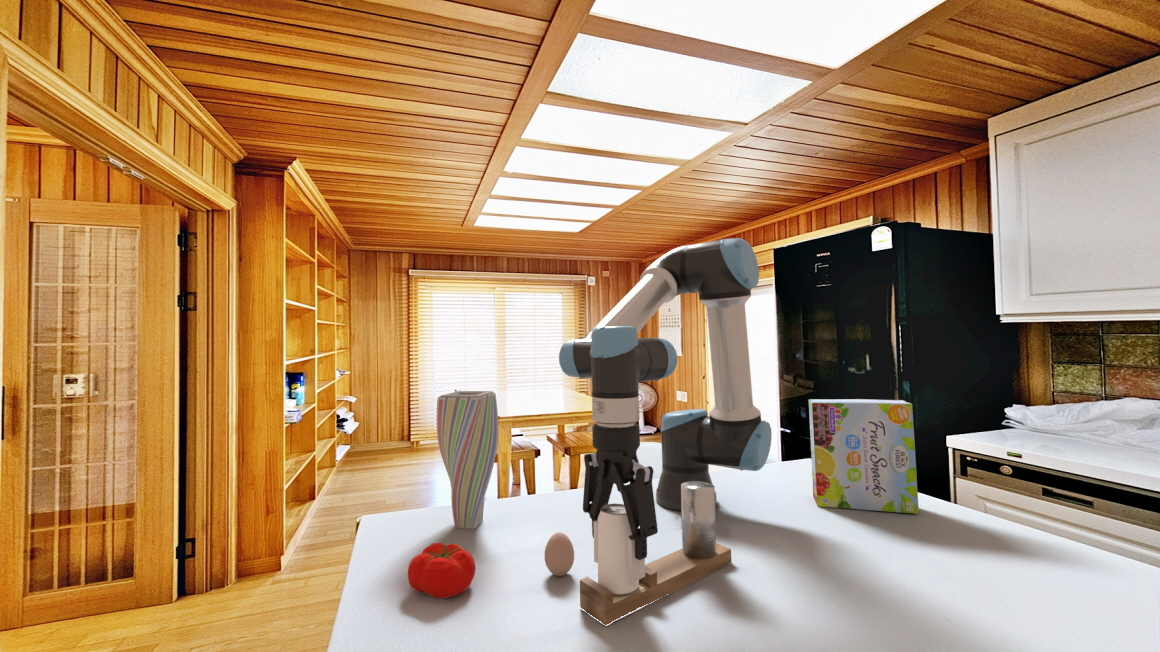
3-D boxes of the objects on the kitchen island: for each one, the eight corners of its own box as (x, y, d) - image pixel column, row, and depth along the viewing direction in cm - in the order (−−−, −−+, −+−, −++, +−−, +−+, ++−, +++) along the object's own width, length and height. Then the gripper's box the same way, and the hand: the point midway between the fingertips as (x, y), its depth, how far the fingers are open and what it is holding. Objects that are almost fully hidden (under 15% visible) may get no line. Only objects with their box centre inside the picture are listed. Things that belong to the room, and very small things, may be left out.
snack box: (908, 503, 118) (904, 399, 118) (920, 516, 109) (916, 403, 110) (811, 496, 125) (807, 397, 125) (815, 507, 116) (812, 401, 117)
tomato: (442, 612, 74) (442, 569, 74) (397, 593, 80) (397, 554, 80) (486, 584, 82) (486, 546, 82) (442, 569, 88) (442, 533, 88)
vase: (506, 514, 115) (504, 389, 116) (485, 537, 102) (484, 396, 103) (454, 511, 118) (452, 389, 119) (427, 533, 104) (426, 396, 105)
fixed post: (675, 551, 88) (674, 485, 88) (696, 542, 92) (694, 479, 92) (702, 562, 83) (700, 493, 84) (723, 552, 87) (721, 486, 87)
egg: (576, 580, 83) (575, 537, 83) (546, 583, 82) (545, 540, 82) (572, 566, 88) (571, 526, 88) (543, 569, 87) (542, 528, 87)
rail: (580, 609, 74) (579, 579, 74) (704, 551, 93) (704, 528, 93) (605, 627, 69) (605, 595, 69) (731, 562, 88) (730, 538, 89)
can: (637, 598, 71) (636, 515, 72) (594, 594, 73) (594, 513, 74) (640, 579, 78) (639, 503, 79) (601, 575, 79) (600, 501, 80)
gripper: (559, 418, 82) (561, 553, 81) (645, 435, 66) (649, 604, 65) (593, 413, 86) (595, 541, 85) (681, 428, 70) (685, 586, 70)
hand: (618, 568), depth 75 cm, fingers open, 7 cm apart
